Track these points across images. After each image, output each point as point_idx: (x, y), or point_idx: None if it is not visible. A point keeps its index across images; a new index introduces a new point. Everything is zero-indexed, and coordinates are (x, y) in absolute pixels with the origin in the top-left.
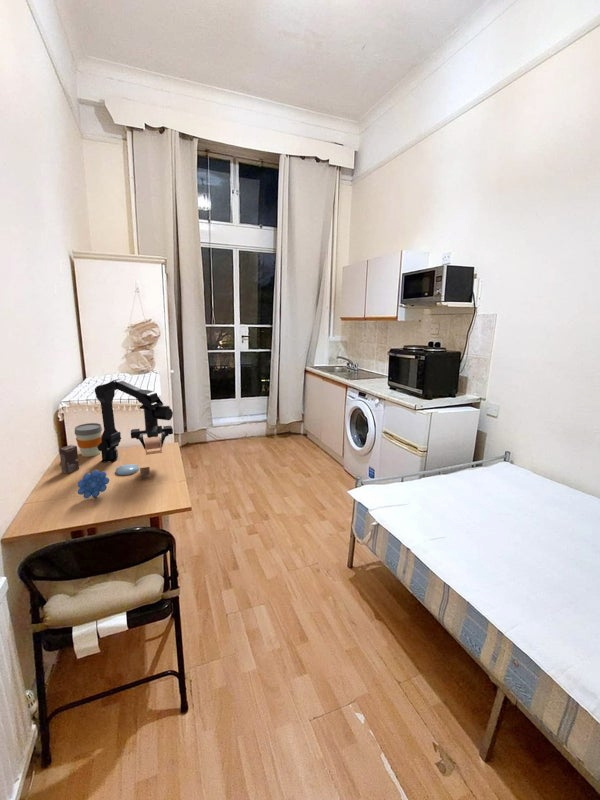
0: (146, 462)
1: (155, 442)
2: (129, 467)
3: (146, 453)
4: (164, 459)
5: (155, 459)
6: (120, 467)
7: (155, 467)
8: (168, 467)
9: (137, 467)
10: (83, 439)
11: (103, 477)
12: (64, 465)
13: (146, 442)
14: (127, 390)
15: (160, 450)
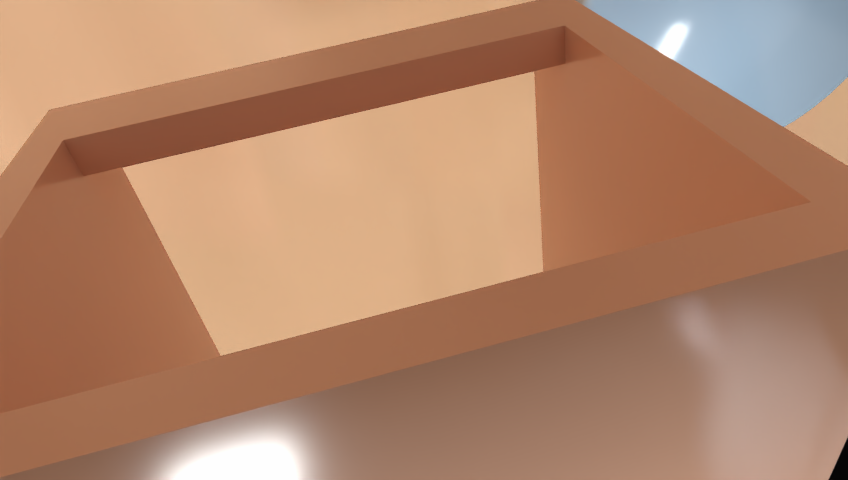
0: (475, 236)
1: (201, 387)
2: (725, 24)
3: (562, 11)
4: (237, 312)
5: (367, 314)
6: (836, 48)
7: (309, 44)
8: (44, 4)
9: (610, 3)
10: None
11: None
12: None
13: (809, 336)
14: None
15: (83, 164)
